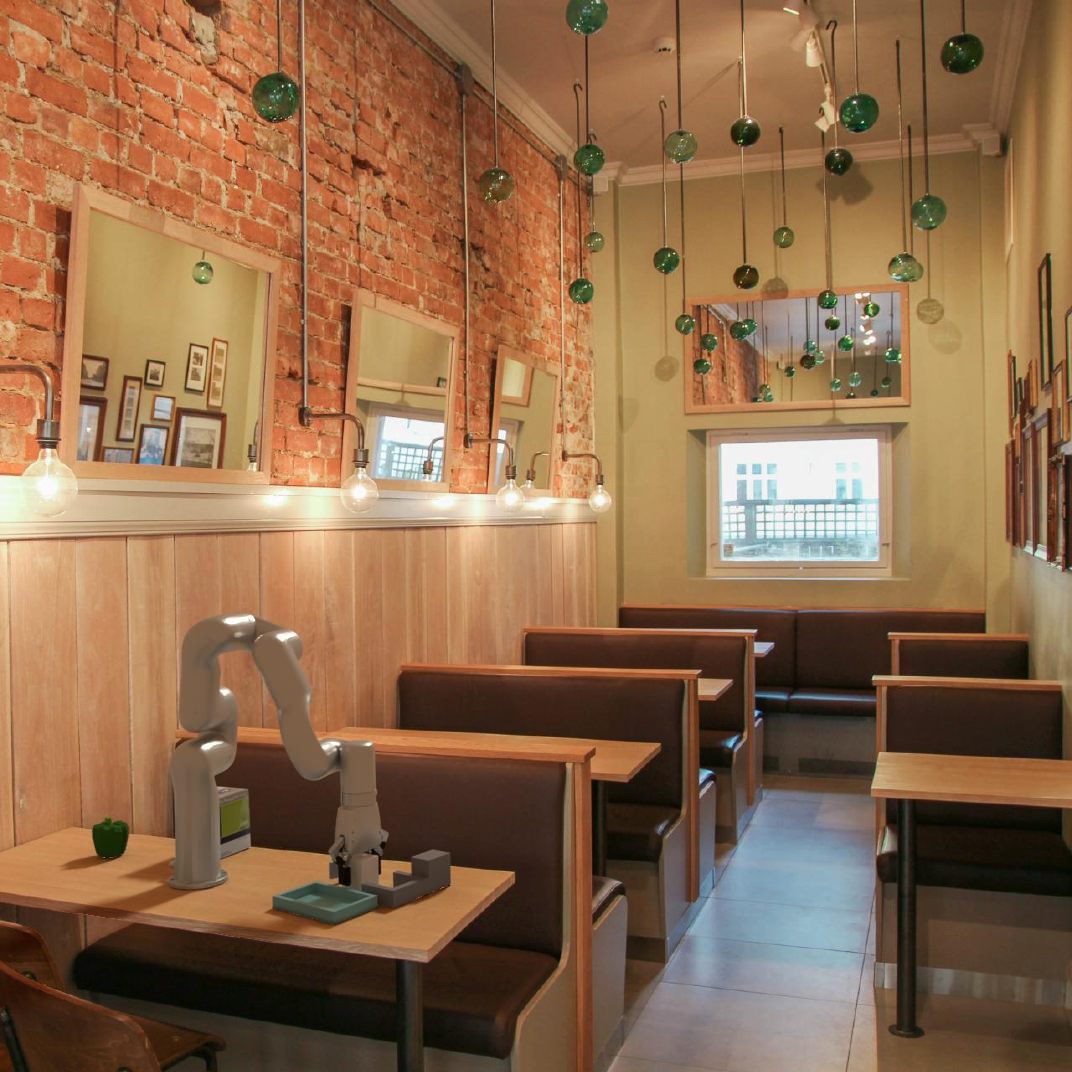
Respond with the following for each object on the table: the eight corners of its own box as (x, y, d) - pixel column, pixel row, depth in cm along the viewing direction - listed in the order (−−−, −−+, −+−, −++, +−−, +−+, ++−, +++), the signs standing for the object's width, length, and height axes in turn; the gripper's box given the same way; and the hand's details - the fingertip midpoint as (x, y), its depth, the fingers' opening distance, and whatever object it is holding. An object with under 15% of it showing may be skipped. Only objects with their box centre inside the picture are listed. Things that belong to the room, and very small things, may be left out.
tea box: (220, 844, 277) (219, 784, 277) (251, 848, 273) (250, 788, 273) (175, 860, 264) (174, 797, 264) (208, 865, 259) (207, 801, 259)
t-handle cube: (327, 886, 242) (327, 854, 242) (344, 880, 246) (343, 848, 246) (362, 894, 236) (361, 861, 236) (378, 888, 240) (378, 855, 240)
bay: (361, 900, 231) (361, 866, 231) (419, 878, 246) (419, 846, 246) (393, 908, 226) (392, 873, 226) (450, 885, 241) (450, 852, 241)
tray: (272, 908, 228) (272, 896, 228) (316, 892, 237) (316, 880, 237) (334, 924, 217) (334, 912, 217) (377, 907, 227) (377, 895, 227)
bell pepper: (107, 850, 273) (106, 809, 273) (135, 852, 270) (135, 811, 271) (84, 860, 265) (83, 818, 265) (113, 862, 262) (112, 820, 262)
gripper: (374, 789, 249) (375, 866, 249) (316, 804, 235) (317, 887, 235) (399, 792, 244) (400, 871, 244) (341, 809, 230) (343, 893, 230)
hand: (360, 879), depth 239 cm, fingers open, 8 cm apart
